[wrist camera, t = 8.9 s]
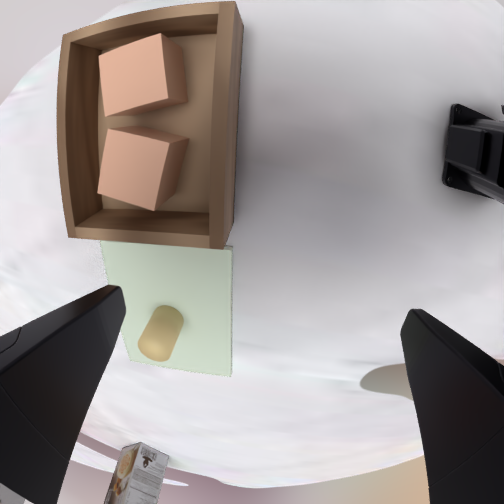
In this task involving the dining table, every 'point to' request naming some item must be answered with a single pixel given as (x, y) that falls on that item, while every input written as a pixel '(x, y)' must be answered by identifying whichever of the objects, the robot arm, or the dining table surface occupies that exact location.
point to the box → (155, 127)
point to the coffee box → (137, 476)
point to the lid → (174, 304)
